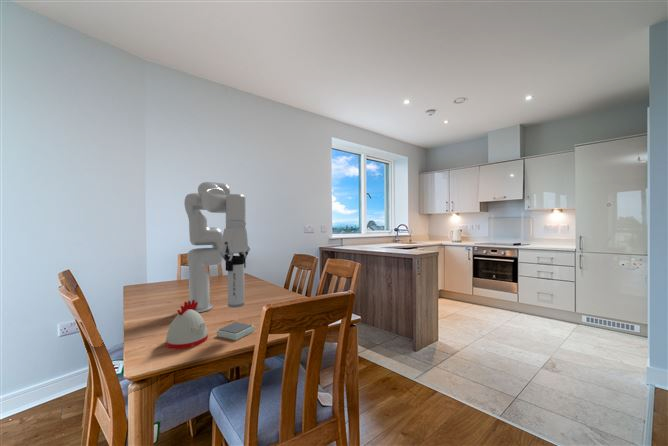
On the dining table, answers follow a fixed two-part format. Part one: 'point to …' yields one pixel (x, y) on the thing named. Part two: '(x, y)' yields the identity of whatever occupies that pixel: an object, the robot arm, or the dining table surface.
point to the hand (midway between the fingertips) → (235, 269)
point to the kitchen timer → (186, 328)
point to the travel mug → (236, 283)
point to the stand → (235, 331)
